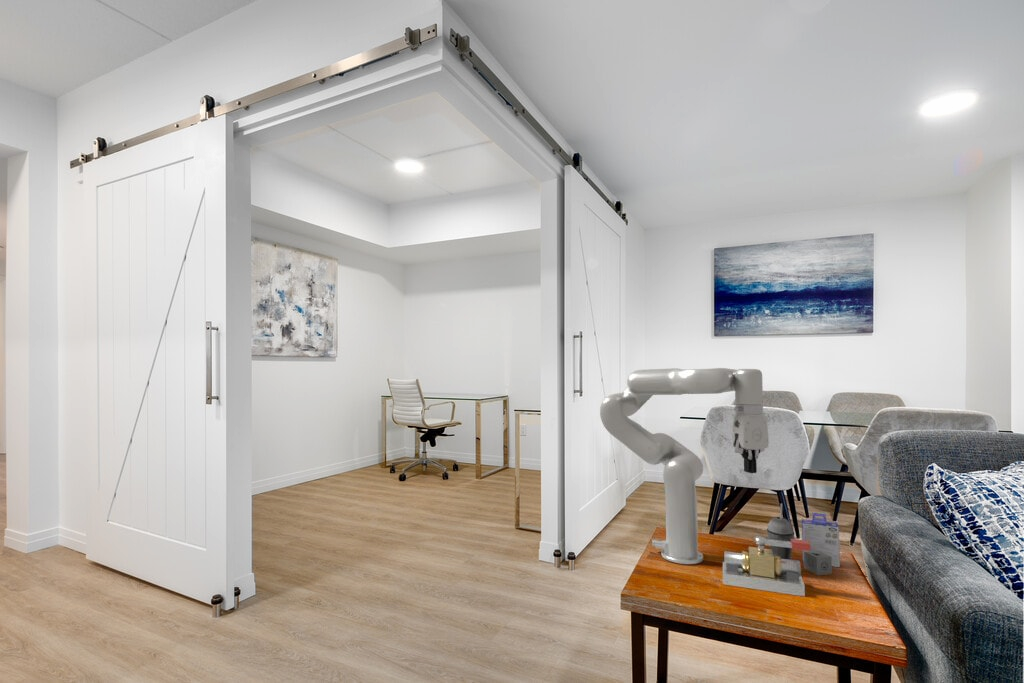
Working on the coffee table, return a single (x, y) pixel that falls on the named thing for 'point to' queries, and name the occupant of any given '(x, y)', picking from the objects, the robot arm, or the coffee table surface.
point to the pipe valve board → (763, 582)
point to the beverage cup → (780, 535)
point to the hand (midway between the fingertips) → (750, 472)
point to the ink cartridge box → (822, 537)
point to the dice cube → (817, 562)
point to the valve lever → (785, 543)
